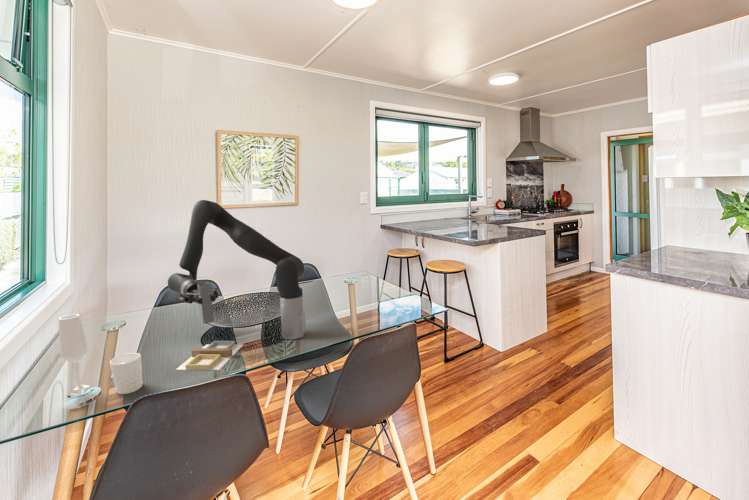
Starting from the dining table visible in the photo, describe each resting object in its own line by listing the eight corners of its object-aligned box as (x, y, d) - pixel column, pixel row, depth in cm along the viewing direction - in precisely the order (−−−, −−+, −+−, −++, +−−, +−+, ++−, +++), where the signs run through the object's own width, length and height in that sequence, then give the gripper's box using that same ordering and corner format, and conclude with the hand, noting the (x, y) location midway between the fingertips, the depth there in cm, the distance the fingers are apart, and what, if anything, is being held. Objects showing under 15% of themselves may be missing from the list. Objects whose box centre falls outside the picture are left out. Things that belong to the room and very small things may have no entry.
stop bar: (210, 318, 130) (207, 281, 128) (213, 321, 128) (210, 283, 125) (200, 321, 128) (196, 283, 126) (203, 323, 125) (199, 285, 123)
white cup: (126, 382, 115) (122, 352, 113) (150, 381, 115) (146, 352, 113) (107, 395, 107) (102, 364, 106) (133, 395, 107) (129, 364, 105)
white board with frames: (206, 346, 141) (205, 338, 140) (244, 346, 140) (243, 338, 140) (175, 372, 121) (174, 362, 120) (219, 372, 120) (218, 362, 119)
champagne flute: (60, 396, 107) (47, 320, 103) (82, 385, 114) (70, 312, 110) (79, 398, 106) (67, 321, 102) (100, 386, 112) (89, 313, 109)
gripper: (172, 284, 132) (184, 293, 119) (212, 277, 141) (227, 285, 128) (174, 303, 133) (186, 315, 120) (213, 296, 142) (229, 306, 130)
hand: (207, 300), depth 124 cm, fingers closed on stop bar, 3 cm apart
